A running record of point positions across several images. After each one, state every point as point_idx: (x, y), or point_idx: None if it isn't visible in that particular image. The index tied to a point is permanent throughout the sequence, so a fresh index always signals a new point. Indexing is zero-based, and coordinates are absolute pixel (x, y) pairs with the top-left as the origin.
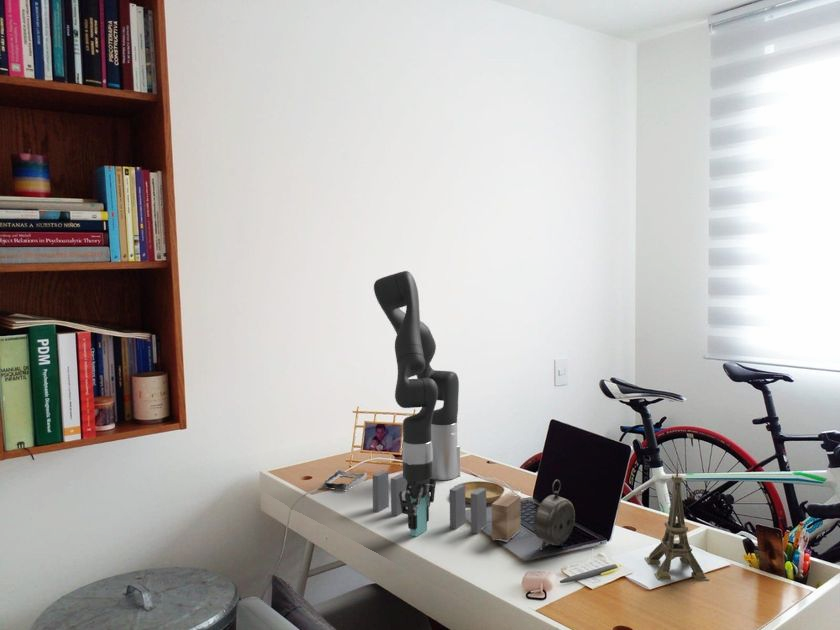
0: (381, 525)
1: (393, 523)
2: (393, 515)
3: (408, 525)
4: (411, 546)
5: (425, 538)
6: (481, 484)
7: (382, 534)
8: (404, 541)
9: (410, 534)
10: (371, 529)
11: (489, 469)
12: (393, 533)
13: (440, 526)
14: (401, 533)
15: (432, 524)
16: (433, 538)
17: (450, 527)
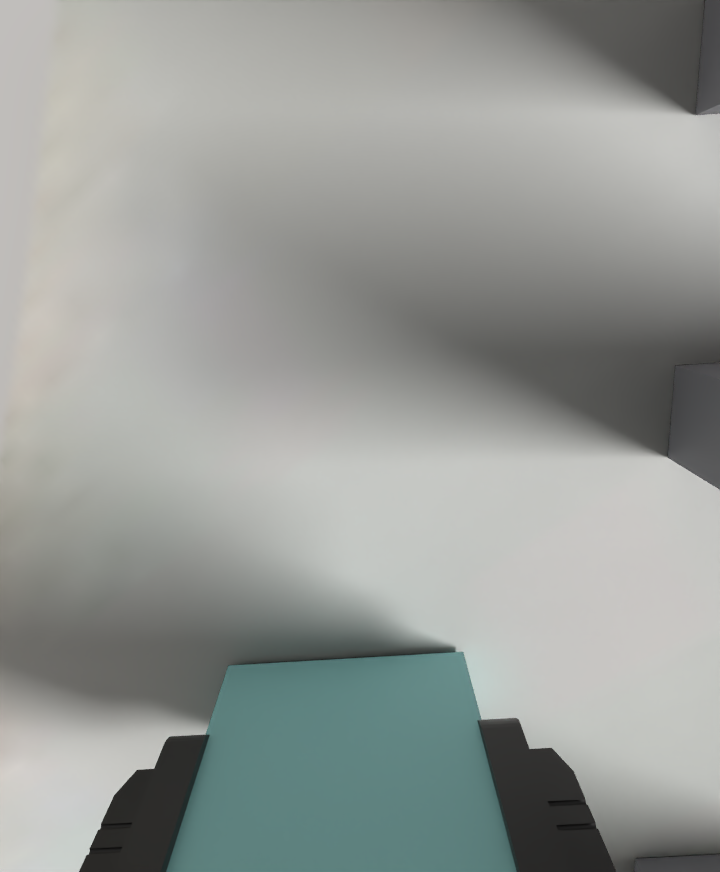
0: (263, 148)
1: (424, 257)
2: (703, 37)
3: (114, 803)
4: (22, 810)
5: None
6: None
7: (34, 375)
8: (64, 697)
9: (226, 672)
10: (52, 116)
11: None
12: (151, 471)
13: (627, 771)
14: (214, 549)
15: (640, 680)
16: None
17: (637, 869)
